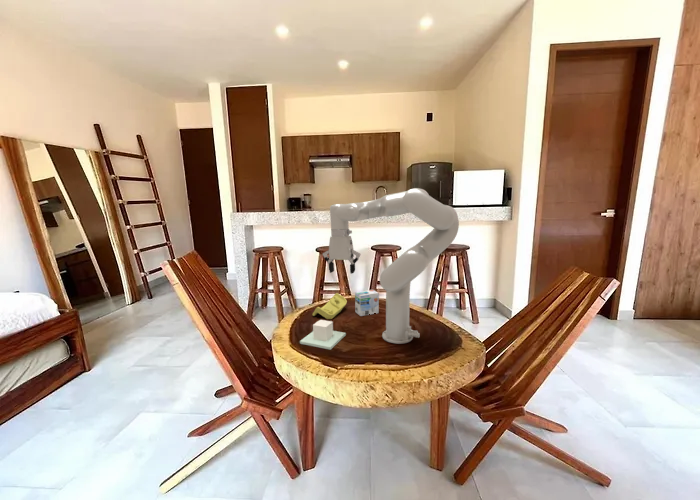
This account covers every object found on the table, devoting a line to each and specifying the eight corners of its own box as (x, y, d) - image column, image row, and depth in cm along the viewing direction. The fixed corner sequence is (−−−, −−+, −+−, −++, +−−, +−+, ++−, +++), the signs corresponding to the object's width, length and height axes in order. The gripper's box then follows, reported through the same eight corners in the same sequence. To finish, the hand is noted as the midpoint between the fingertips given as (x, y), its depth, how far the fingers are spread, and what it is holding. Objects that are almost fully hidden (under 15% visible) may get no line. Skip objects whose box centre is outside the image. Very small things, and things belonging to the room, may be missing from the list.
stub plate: (345, 335, 130) (345, 326, 130) (330, 349, 118) (330, 340, 117) (317, 330, 136) (317, 321, 135) (299, 343, 123) (299, 334, 123)
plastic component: (331, 316, 146) (315, 305, 149) (326, 327, 149) (310, 316, 152) (349, 300, 163) (334, 291, 166) (345, 311, 166) (330, 301, 169)
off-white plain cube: (333, 335, 128) (332, 321, 127) (326, 341, 123) (325, 327, 122) (320, 332, 131) (320, 319, 130) (313, 338, 125) (312, 324, 124)
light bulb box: (360, 316, 151) (360, 295, 149) (354, 312, 157) (354, 292, 155) (379, 313, 155) (379, 292, 153) (373, 308, 161) (373, 289, 159)
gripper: (362, 232, 130) (363, 271, 133) (325, 232, 136) (327, 269, 139) (356, 234, 123) (357, 275, 126) (317, 234, 130) (320, 273, 132)
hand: (342, 272), depth 132 cm, fingers open, 9 cm apart
